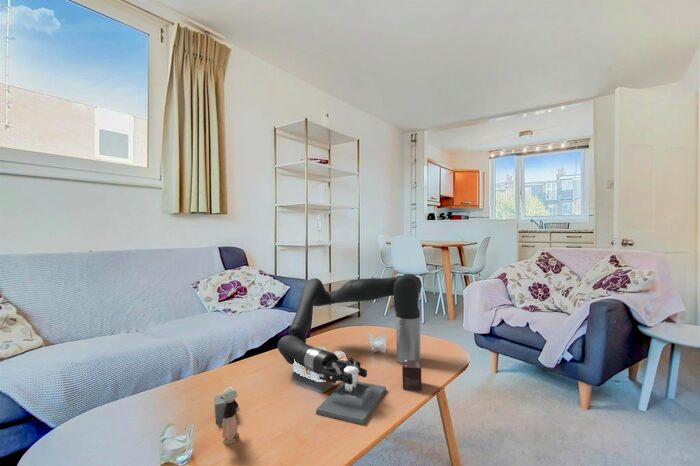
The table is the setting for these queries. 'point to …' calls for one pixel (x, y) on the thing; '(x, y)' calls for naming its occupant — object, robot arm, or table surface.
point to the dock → (352, 403)
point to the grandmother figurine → (230, 416)
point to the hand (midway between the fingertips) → (359, 377)
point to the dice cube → (219, 408)
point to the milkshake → (354, 373)
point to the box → (411, 375)
